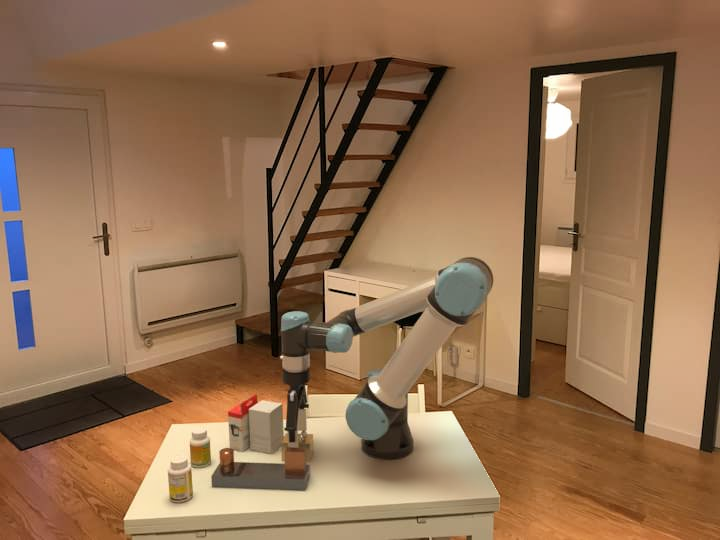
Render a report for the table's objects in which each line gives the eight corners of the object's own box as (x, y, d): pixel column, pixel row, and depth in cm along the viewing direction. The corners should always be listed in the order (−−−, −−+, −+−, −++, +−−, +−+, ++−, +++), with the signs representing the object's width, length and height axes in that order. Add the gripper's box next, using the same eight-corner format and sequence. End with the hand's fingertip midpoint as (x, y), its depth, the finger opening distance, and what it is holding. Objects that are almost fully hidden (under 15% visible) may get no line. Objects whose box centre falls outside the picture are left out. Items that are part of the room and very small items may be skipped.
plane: (309, 475, 156) (309, 443, 154) (304, 490, 148) (304, 457, 147) (221, 471, 157) (219, 440, 156) (211, 487, 150) (210, 454, 148)
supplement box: (284, 443, 173) (283, 403, 171) (270, 454, 167) (269, 412, 165) (263, 439, 177) (262, 399, 174) (249, 449, 170) (247, 408, 168)
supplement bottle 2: (205, 469, 159) (203, 435, 157) (187, 467, 160) (185, 433, 158) (214, 459, 164) (212, 426, 162) (196, 457, 165) (194, 425, 164)
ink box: (246, 436, 178) (244, 390, 176) (259, 439, 176) (258, 393, 173) (228, 448, 170) (226, 401, 168) (243, 452, 168) (241, 403, 166)
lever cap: (313, 452, 169) (313, 429, 167) (310, 462, 163) (309, 438, 162) (286, 451, 169) (285, 428, 168) (281, 461, 163) (281, 438, 162)
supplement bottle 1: (184, 488, 149) (182, 451, 147) (197, 496, 146) (195, 458, 144) (165, 498, 145) (162, 459, 143) (177, 506, 141) (175, 466, 140)
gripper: (291, 353, 174) (292, 421, 178) (272, 383, 150) (274, 461, 153) (316, 354, 173) (317, 422, 177) (301, 384, 149) (303, 462, 153)
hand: (297, 440), depth 165 cm, fingers open, 13 cm apart
